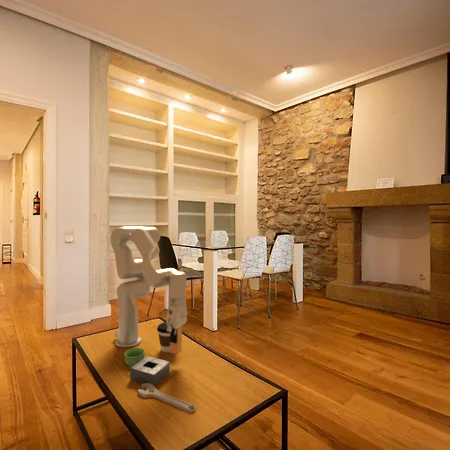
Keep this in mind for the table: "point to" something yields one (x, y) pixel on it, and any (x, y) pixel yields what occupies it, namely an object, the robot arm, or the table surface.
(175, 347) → the orange square peg
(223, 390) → the table surface
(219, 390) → the table surface
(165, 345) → the coffee cup
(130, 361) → the ramekin
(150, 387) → the adjustable wrench
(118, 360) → the table surface
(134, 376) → the grey square frame
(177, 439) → the table surface
